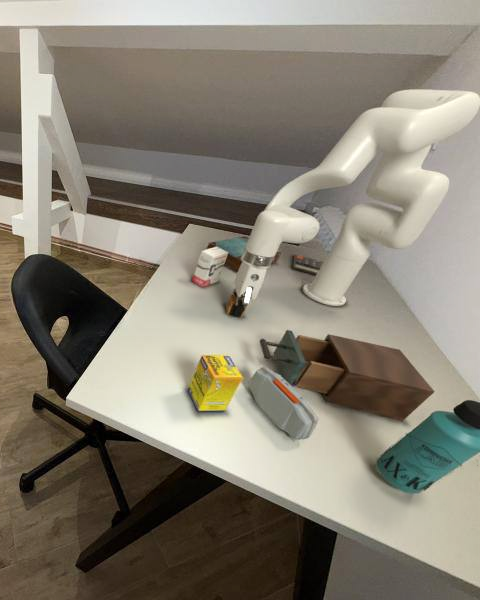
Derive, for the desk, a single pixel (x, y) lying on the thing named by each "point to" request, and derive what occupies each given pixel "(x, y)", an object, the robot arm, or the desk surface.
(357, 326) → the desk surface
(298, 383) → the drawer
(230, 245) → the book
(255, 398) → the gray case
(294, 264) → the calculator
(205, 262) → the ink box
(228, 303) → the block
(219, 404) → the supplement box
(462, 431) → the beverage bottle
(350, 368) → the cabinet
